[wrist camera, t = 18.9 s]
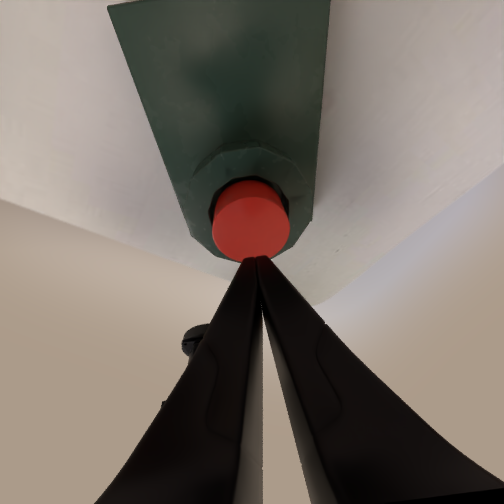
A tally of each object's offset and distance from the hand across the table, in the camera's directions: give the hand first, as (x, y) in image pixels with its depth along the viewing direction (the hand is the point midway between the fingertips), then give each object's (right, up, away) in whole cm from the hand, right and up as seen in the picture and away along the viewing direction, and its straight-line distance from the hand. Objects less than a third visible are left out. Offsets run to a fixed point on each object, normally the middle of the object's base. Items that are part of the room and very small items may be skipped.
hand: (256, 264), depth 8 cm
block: (-1, +7, +3) cm, 7 cm away
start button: (0, +3, +3) cm, 4 cm away
